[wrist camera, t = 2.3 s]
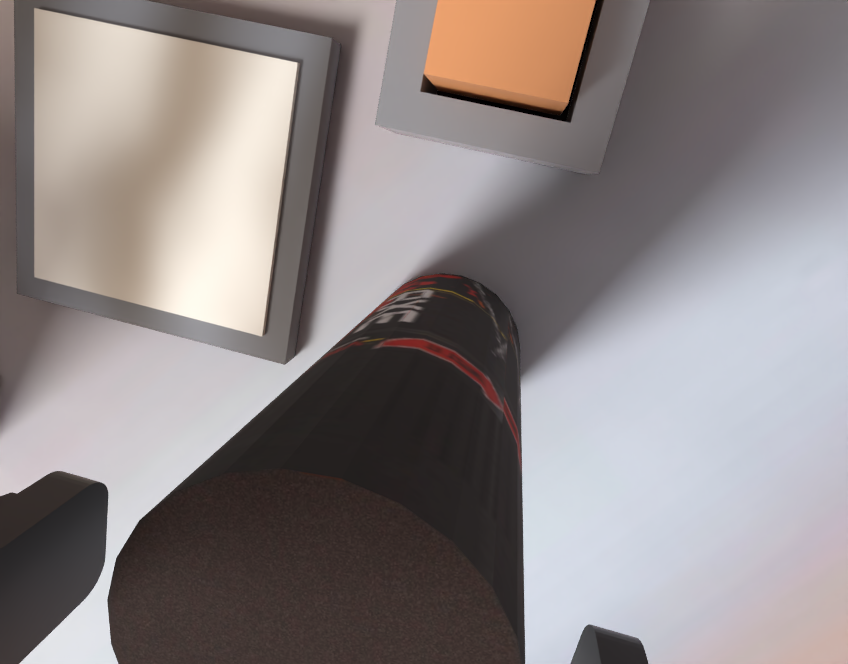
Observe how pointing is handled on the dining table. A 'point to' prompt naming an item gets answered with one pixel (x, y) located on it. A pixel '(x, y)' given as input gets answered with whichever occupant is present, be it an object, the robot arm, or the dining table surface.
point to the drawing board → (170, 167)
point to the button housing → (504, 129)
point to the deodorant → (351, 508)
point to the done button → (509, 50)
